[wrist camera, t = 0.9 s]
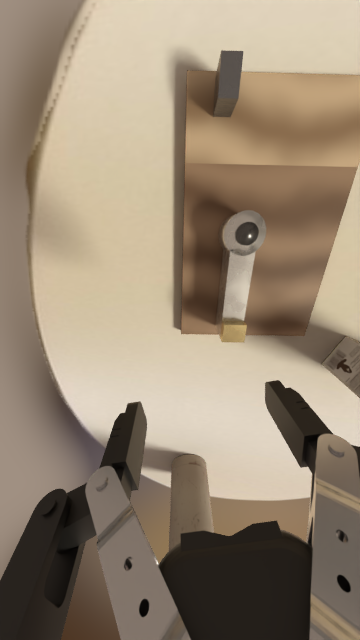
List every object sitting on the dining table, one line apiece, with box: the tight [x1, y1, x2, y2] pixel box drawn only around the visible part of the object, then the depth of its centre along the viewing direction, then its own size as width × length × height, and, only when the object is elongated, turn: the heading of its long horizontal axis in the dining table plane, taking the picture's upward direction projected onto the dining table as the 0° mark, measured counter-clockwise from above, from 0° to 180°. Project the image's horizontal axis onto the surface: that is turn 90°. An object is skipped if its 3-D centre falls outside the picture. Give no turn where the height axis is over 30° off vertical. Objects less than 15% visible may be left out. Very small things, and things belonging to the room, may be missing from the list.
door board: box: [181, 71, 360, 336], centre depth 24 cm, size 28×19×1 cm
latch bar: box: [216, 210, 266, 342], centre depth 23 cm, size 15×4×5 cm, turn 179°
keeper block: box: [213, 51, 243, 117], centre depth 17 cm, size 3×2×3 cm, turn 179°
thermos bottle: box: [169, 454, 214, 551], centre depth 31 cm, size 8×8×28 cm
